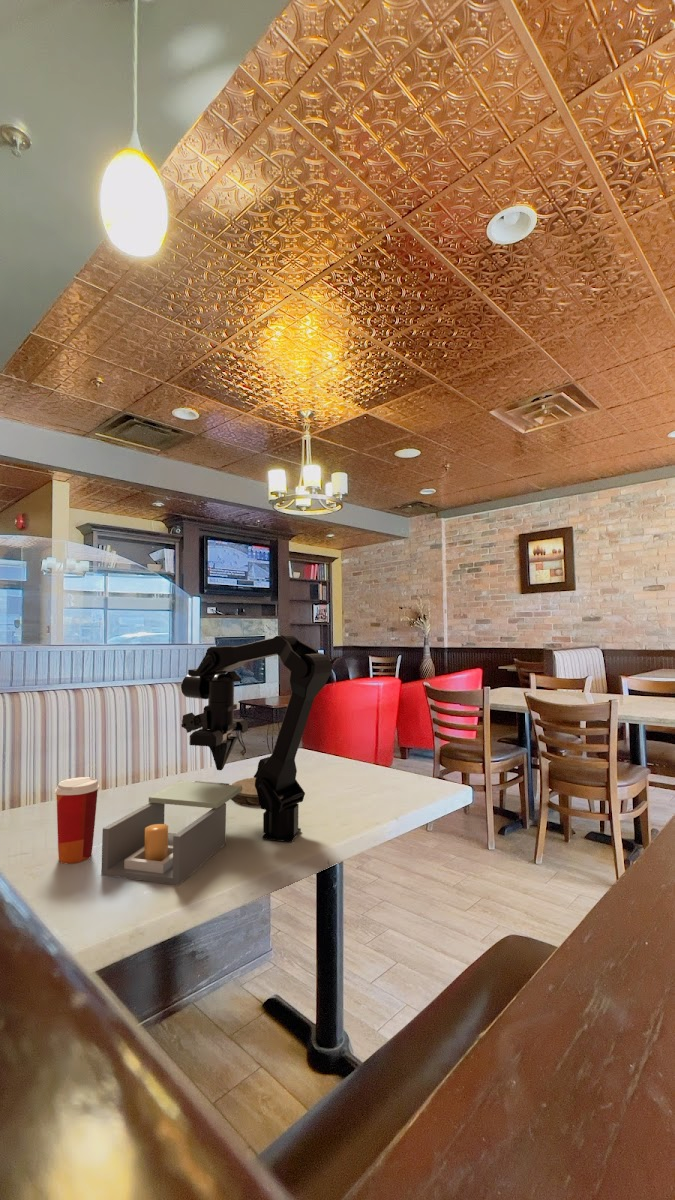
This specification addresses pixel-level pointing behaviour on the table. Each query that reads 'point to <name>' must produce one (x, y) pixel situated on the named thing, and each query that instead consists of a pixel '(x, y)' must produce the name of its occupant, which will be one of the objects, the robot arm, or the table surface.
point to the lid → (196, 794)
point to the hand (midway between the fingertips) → (219, 769)
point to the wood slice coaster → (247, 793)
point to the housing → (184, 848)
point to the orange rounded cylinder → (156, 842)
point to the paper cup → (76, 818)
